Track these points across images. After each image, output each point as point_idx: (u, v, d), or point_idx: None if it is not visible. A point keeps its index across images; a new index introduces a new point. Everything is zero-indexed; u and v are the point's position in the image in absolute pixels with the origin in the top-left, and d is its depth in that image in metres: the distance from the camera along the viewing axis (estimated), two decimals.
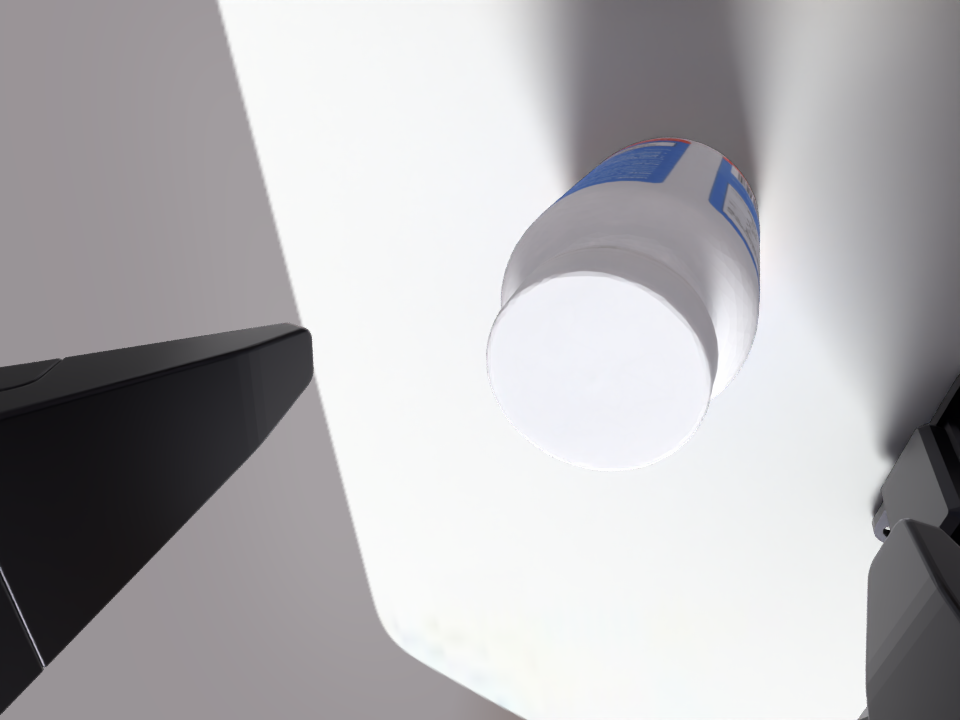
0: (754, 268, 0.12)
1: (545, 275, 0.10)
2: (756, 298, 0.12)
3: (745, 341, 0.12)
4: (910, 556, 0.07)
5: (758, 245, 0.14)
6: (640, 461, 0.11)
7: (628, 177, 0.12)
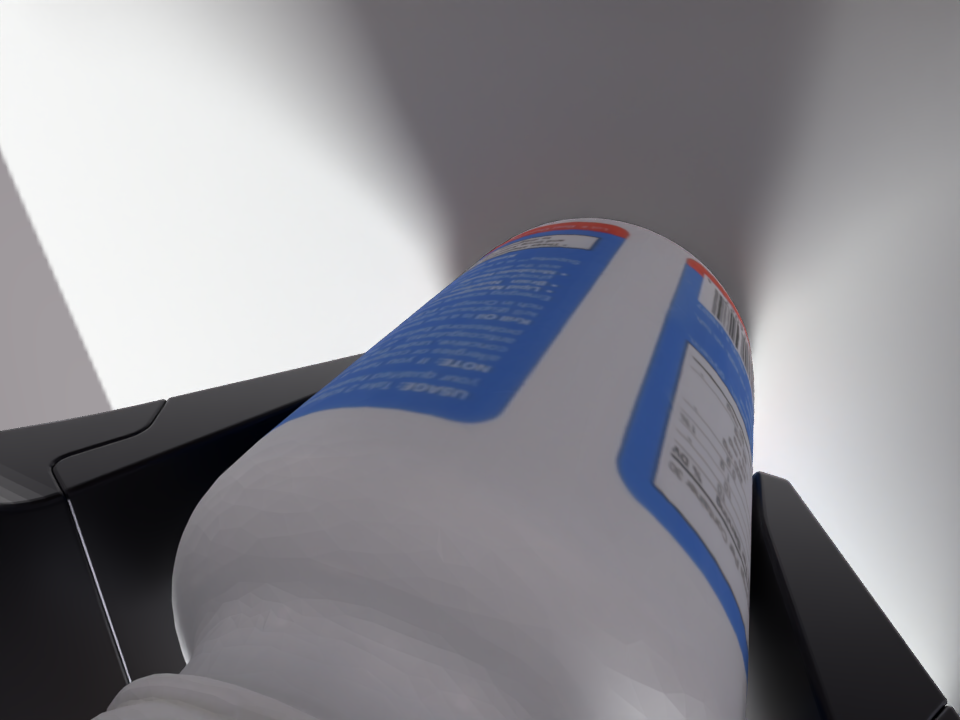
0: (733, 640, 0.05)
1: None
2: None
3: None
4: (752, 504, 0.07)
5: (748, 480, 0.07)
6: None
7: (425, 388, 0.05)
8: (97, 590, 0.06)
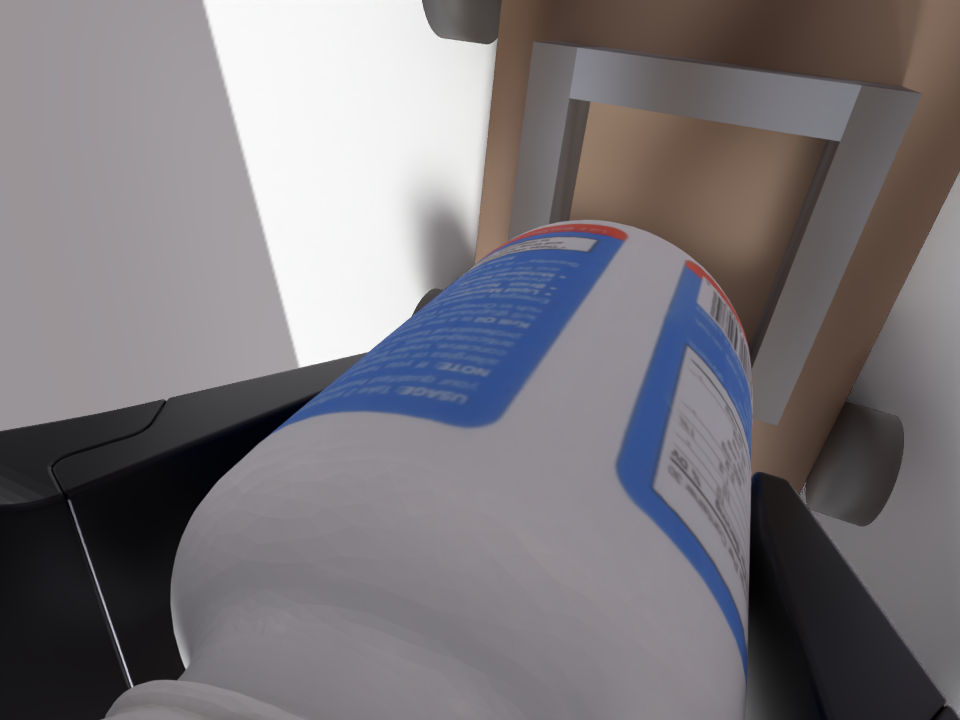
0: (732, 644, 0.05)
1: None
2: None
3: None
4: (752, 504, 0.07)
5: (747, 483, 0.07)
6: None
7: (425, 393, 0.05)
8: (97, 590, 0.06)
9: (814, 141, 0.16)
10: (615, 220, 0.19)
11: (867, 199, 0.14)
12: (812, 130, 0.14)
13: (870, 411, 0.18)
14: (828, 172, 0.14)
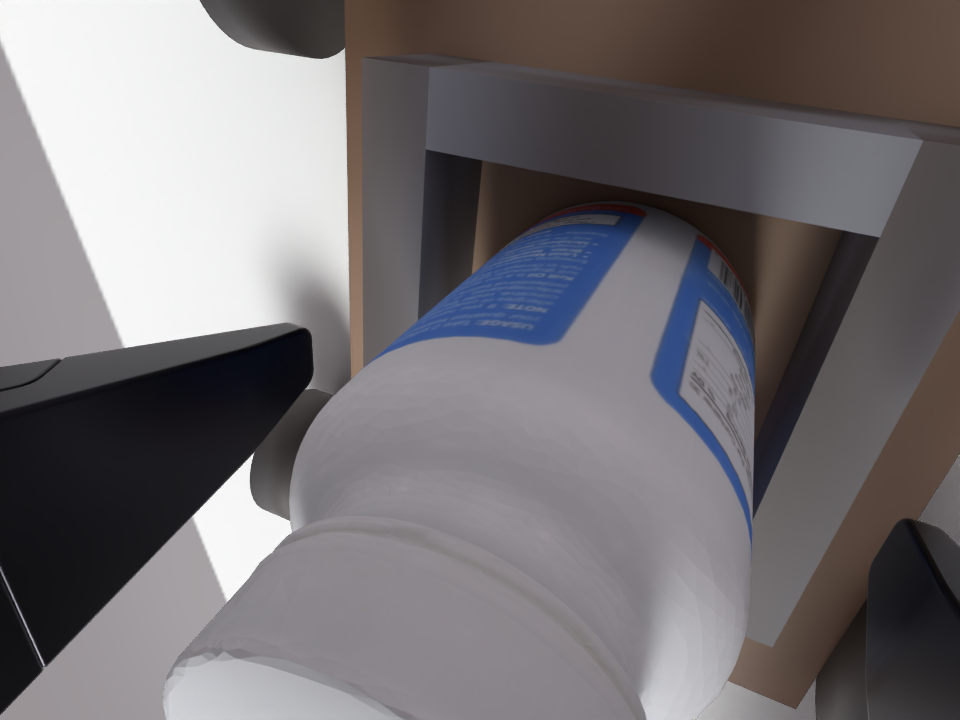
0: (740, 512, 0.06)
1: (228, 640, 0.04)
2: (744, 589, 0.06)
3: (721, 673, 0.06)
4: (910, 557, 0.07)
5: (751, 411, 0.08)
6: None
7: (499, 324, 0.06)
8: None
9: None
10: None
11: (927, 336, 0.08)
12: (829, 216, 0.08)
13: None
14: (857, 287, 0.08)
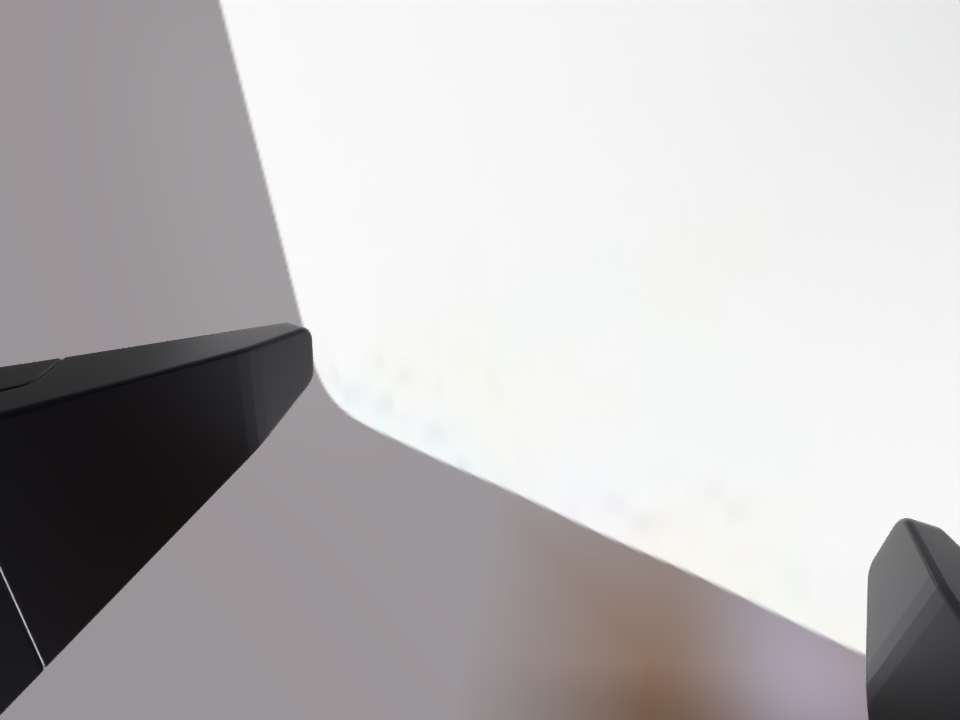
0: None
1: None
2: None
3: None
4: (910, 557, 0.07)
5: None
6: None
7: None
8: None
9: None
10: None
11: None
12: None
13: None
14: None
